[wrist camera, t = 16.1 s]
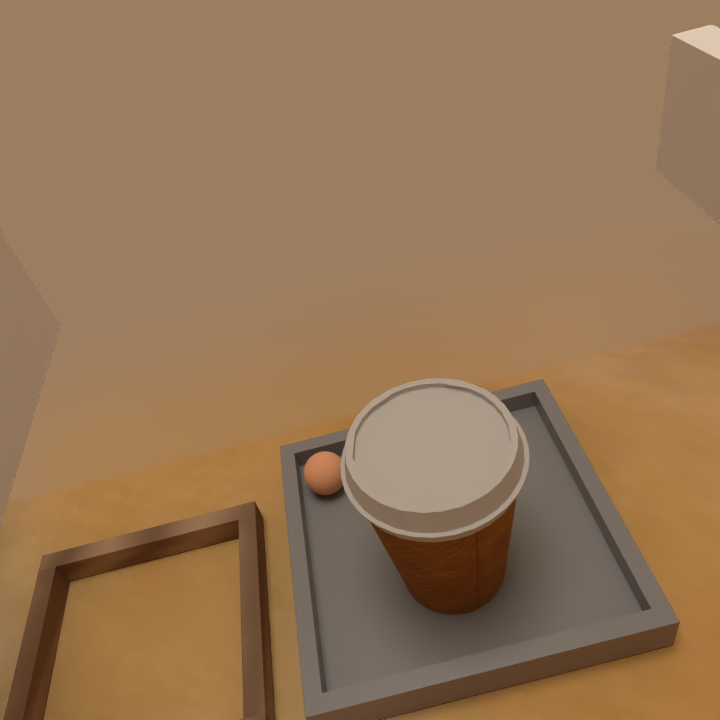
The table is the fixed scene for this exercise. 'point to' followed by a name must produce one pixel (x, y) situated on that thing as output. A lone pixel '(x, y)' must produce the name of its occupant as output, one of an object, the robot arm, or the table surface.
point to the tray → (486, 624)
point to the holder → (134, 549)
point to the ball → (323, 473)
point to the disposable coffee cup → (439, 487)
